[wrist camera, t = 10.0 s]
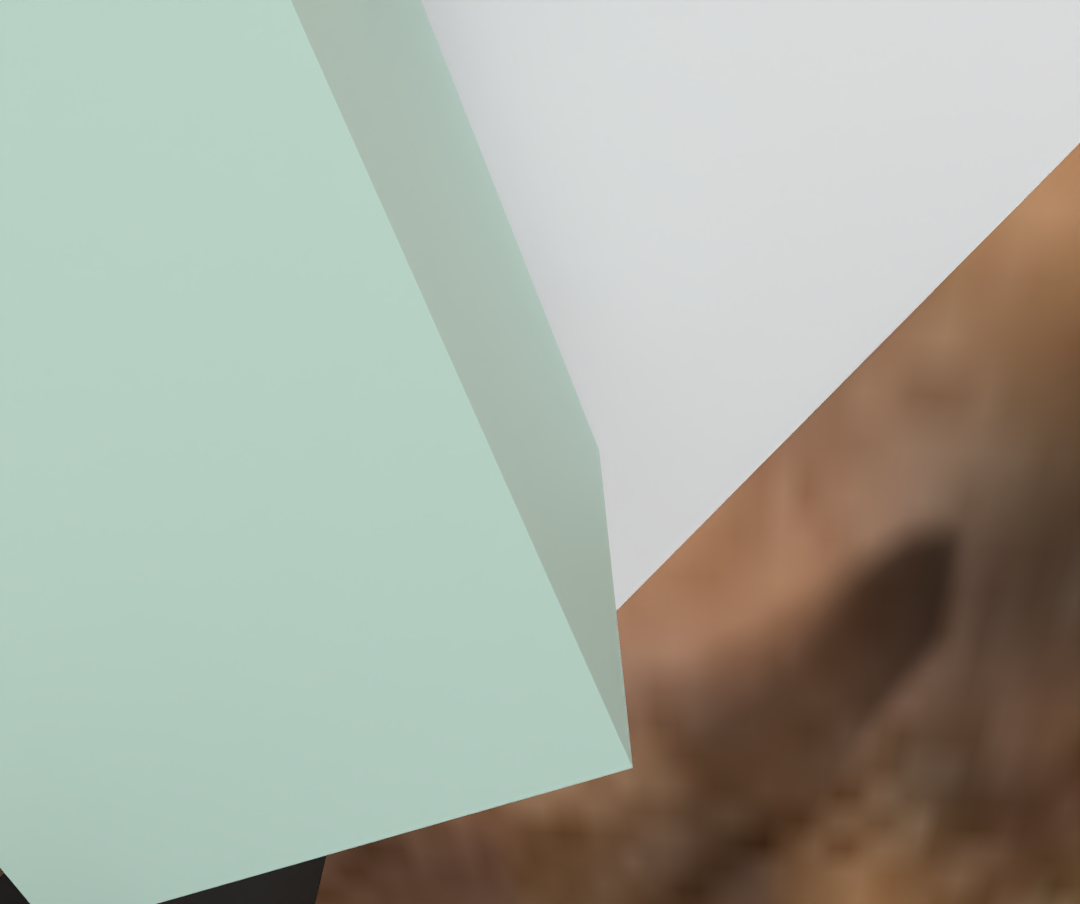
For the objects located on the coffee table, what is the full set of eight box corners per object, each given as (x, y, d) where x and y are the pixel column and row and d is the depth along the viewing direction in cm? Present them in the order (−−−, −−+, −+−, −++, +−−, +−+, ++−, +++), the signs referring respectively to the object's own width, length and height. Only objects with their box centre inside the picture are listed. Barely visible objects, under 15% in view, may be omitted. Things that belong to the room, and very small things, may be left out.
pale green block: (596, 425, 11) (632, 768, 6) (252, 544, 11) (55, 932, 7) (397, -84, 9) (228, -138, 4) (-7, 96, 9) (-540, 222, 5)
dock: (1140, -10, 10) (1527, 128, 6) (470, 699, 15) (440, 1015, 11) (181, -938, 7) (-323, -1896, 3) (-228, 359, 12) (-596, 629, 8)
